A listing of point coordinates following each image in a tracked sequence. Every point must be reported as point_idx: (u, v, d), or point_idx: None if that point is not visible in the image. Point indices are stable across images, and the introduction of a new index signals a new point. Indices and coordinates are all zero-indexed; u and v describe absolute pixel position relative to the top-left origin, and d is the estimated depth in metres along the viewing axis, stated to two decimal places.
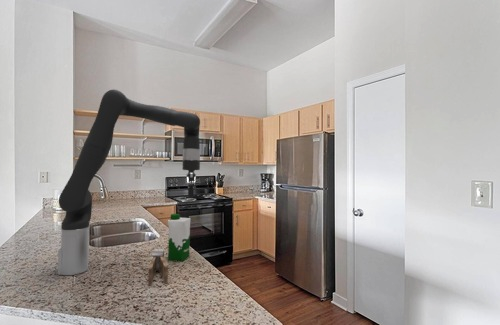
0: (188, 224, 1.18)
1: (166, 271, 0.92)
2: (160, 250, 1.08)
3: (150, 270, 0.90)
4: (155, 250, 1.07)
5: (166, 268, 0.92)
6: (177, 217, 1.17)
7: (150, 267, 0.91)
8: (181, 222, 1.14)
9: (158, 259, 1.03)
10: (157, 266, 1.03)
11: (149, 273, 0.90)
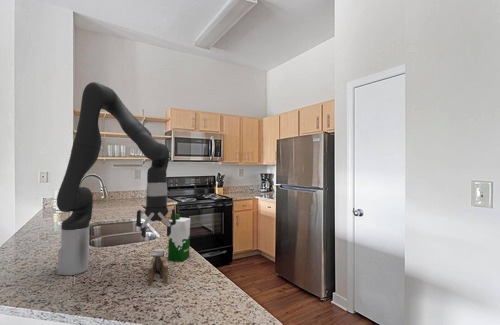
0: (188, 224, 1.18)
1: (166, 271, 0.92)
2: (160, 250, 1.08)
3: (150, 270, 0.90)
4: (155, 250, 1.07)
5: (166, 268, 0.92)
6: (177, 217, 1.17)
7: (150, 267, 0.91)
8: (181, 222, 1.14)
9: (158, 259, 1.03)
10: (157, 266, 1.03)
11: (149, 273, 0.90)
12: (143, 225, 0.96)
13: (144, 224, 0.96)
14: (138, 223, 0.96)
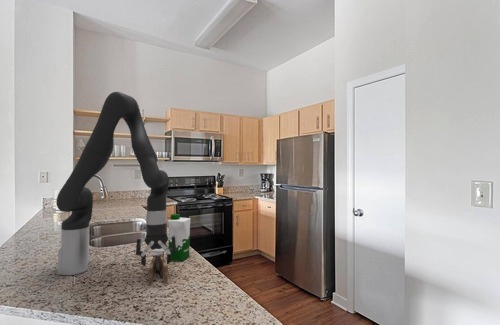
0: (188, 224, 1.18)
1: (166, 271, 0.92)
2: (160, 250, 1.08)
3: (150, 270, 0.90)
4: (155, 250, 1.07)
5: (166, 268, 0.92)
6: (177, 217, 1.17)
7: (150, 267, 0.91)
8: (181, 222, 1.14)
9: (158, 259, 1.03)
10: (157, 266, 1.03)
11: (149, 273, 0.90)
12: (143, 253, 0.96)
13: (144, 252, 0.96)
14: (138, 252, 0.95)
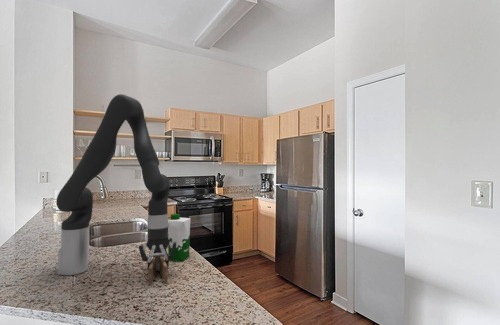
0: (188, 224, 1.18)
1: (166, 271, 0.92)
2: None
3: (150, 270, 0.90)
4: None
5: (166, 268, 0.92)
6: (177, 217, 1.17)
7: (150, 267, 0.91)
8: (181, 222, 1.14)
9: (158, 259, 1.03)
10: (157, 266, 1.03)
11: (149, 273, 0.90)
12: (149, 259, 0.96)
13: (149, 258, 0.97)
14: (144, 258, 0.96)
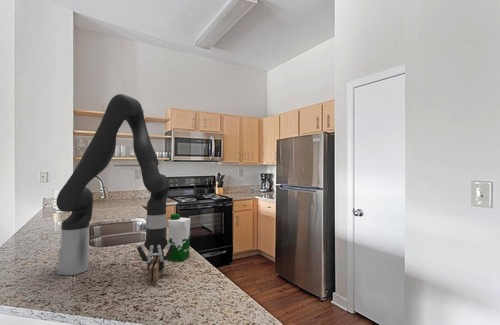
0: (188, 224, 1.18)
1: (154, 273, 0.90)
2: None
3: (150, 270, 0.90)
4: None
5: (154, 270, 0.90)
6: (177, 217, 1.17)
7: (150, 267, 0.91)
8: (181, 222, 1.14)
9: None
10: None
11: (149, 273, 0.90)
12: (149, 260, 0.96)
13: (149, 258, 0.96)
14: (144, 258, 0.96)
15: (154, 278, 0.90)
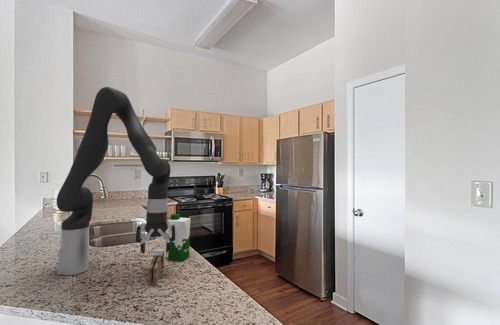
0: (188, 224, 1.18)
1: (154, 273, 0.90)
2: (160, 250, 1.08)
3: (150, 270, 0.90)
4: (155, 250, 1.07)
5: (154, 270, 0.90)
6: (177, 217, 1.17)
7: (150, 267, 0.91)
8: (181, 222, 1.14)
9: None
10: None
11: (149, 273, 0.90)
12: (142, 241, 0.96)
13: (143, 240, 0.96)
14: (137, 239, 0.96)
15: (154, 278, 0.90)
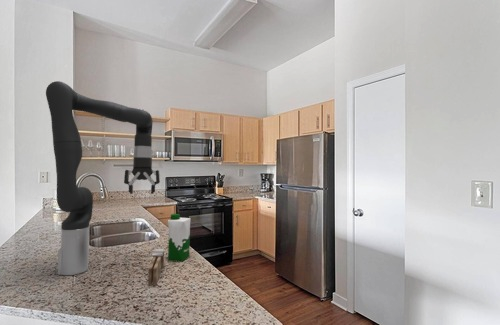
0: (188, 224, 1.18)
1: (154, 273, 0.90)
2: (160, 250, 1.08)
3: (150, 270, 0.90)
4: (155, 250, 1.07)
5: (154, 270, 0.90)
6: (177, 217, 1.17)
7: (150, 267, 0.91)
8: (181, 222, 1.14)
9: None
10: None
11: (149, 273, 0.90)
12: (130, 183, 1.10)
13: (131, 182, 1.10)
14: (126, 181, 1.10)
15: (154, 278, 0.90)
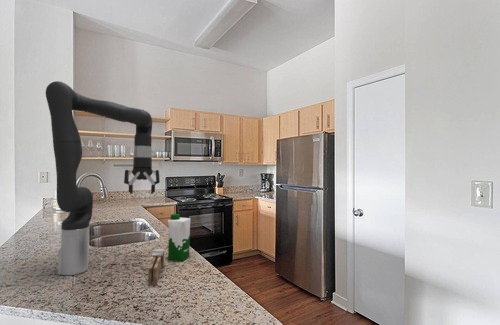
0: (188, 224, 1.18)
1: (154, 273, 0.90)
2: (160, 250, 1.08)
3: (150, 270, 0.90)
4: (155, 250, 1.07)
5: (154, 270, 0.90)
6: (177, 217, 1.17)
7: (150, 267, 0.91)
8: (181, 222, 1.14)
9: None
10: None
11: (149, 273, 0.90)
12: (130, 182, 1.10)
13: (131, 182, 1.10)
14: (126, 181, 1.10)
15: (154, 278, 0.90)
